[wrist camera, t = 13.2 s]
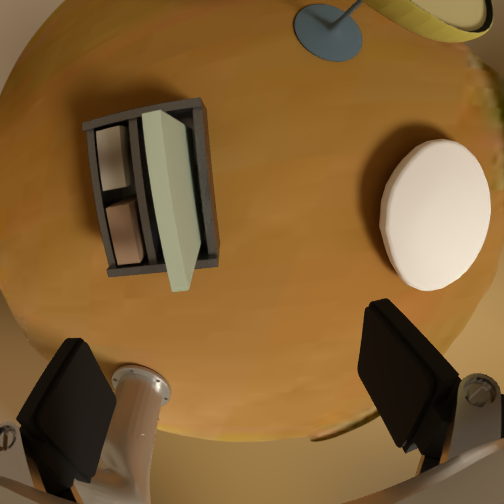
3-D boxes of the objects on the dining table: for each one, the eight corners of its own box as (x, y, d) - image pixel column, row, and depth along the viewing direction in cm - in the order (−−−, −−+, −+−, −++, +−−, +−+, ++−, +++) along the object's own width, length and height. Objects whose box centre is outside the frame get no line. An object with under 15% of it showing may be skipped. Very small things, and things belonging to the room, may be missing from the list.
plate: (507, 208, 38) (443, 315, 45) (486, 198, 44) (425, 298, 51) (451, 105, 29) (363, 252, 35) (424, 104, 34) (342, 235, 41)
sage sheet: (204, 229, 39) (188, 290, 22) (194, 230, 39) (172, 291, 22) (191, 128, 34) (160, 109, 17) (180, 130, 34) (141, 113, 17)
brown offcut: (145, 179, 36) (126, 186, 28) (125, 182, 36) (102, 191, 28) (140, 129, 33) (119, 125, 26) (120, 134, 33) (95, 131, 26)
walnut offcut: (155, 241, 39) (140, 262, 31) (136, 243, 39) (117, 264, 31) (147, 193, 37) (128, 204, 29) (127, 196, 36) (105, 208, 29)
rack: (219, 242, 41) (218, 266, 32) (129, 252, 40) (108, 277, 32) (206, 109, 34) (200, 97, 26) (110, 127, 34) (82, 123, 25)
